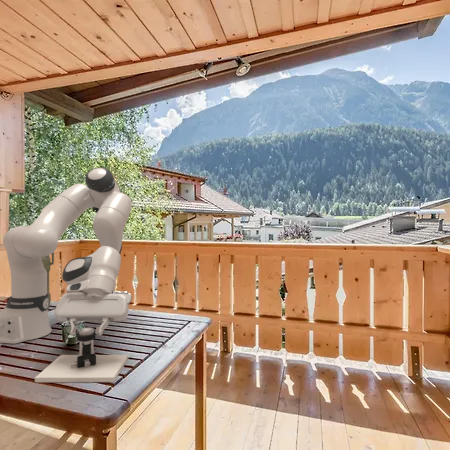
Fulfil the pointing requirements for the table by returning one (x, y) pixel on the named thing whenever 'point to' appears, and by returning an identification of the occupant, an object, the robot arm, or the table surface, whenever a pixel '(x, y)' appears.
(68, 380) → the board
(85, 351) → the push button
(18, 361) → the table surface
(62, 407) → the table surface
